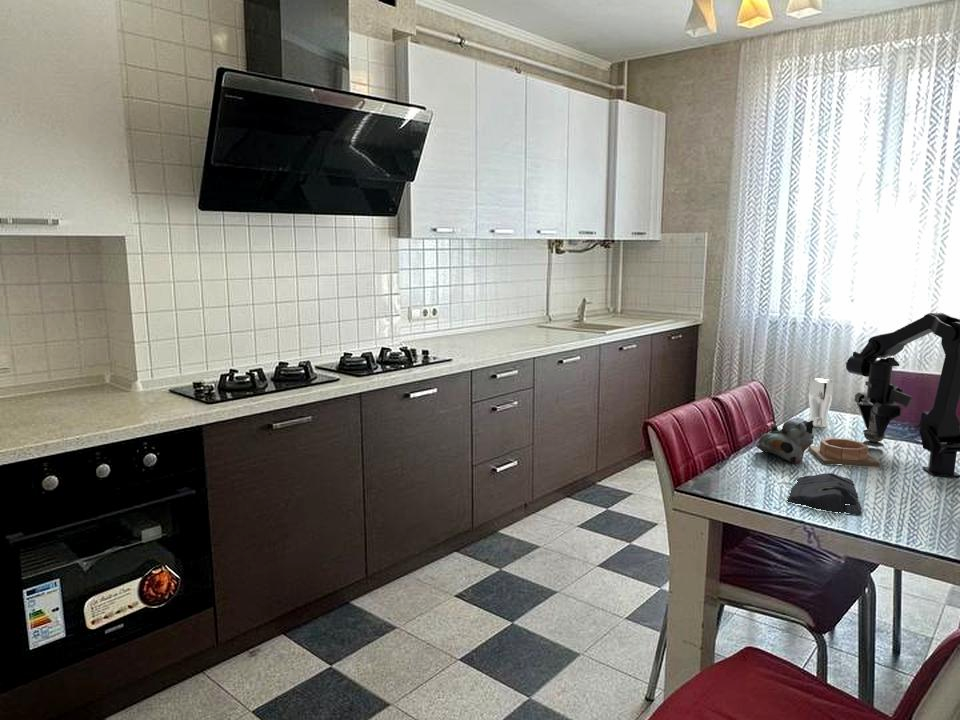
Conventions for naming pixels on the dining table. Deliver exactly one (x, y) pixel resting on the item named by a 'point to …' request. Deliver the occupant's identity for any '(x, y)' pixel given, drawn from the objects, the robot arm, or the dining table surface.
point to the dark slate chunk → (826, 493)
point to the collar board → (843, 453)
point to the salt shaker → (872, 434)
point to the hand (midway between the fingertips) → (874, 432)
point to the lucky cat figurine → (788, 439)
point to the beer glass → (820, 401)
